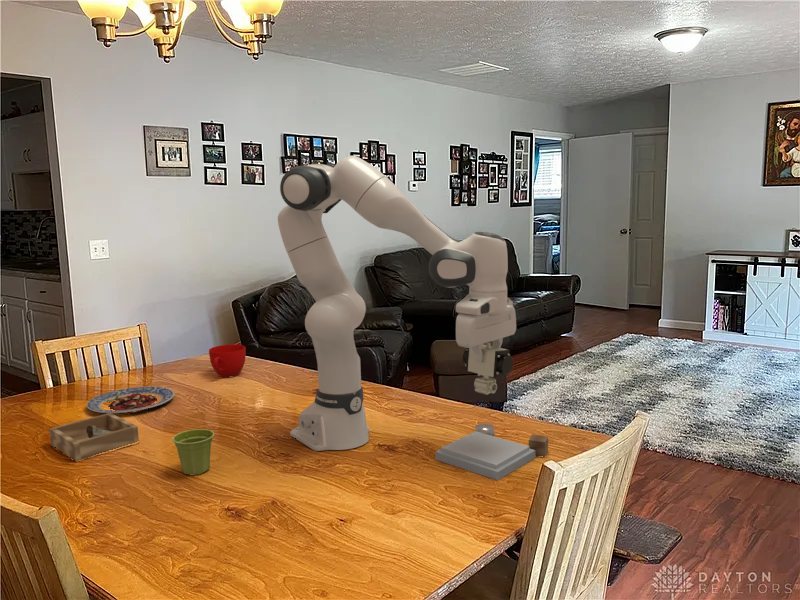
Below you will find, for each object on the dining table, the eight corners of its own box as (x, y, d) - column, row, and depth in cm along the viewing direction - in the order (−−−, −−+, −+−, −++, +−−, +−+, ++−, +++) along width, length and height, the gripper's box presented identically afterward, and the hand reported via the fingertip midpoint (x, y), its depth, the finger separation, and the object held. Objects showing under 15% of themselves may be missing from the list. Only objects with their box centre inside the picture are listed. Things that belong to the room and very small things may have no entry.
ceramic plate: (191, 399, 208) (191, 390, 208) (120, 424, 187) (119, 414, 186) (141, 388, 222) (141, 380, 221) (70, 410, 200) (69, 401, 200)
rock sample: (131, 426, 170) (101, 409, 167) (114, 452, 165) (83, 434, 163) (121, 433, 178) (93, 416, 175) (105, 457, 173) (75, 441, 171)
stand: (435, 459, 156) (435, 447, 155) (474, 440, 167) (474, 429, 167) (497, 480, 143) (497, 467, 143) (535, 458, 155) (535, 446, 155)
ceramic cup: (199, 382, 226) (197, 355, 225) (220, 369, 243) (218, 344, 241) (233, 383, 224) (232, 355, 223) (252, 370, 241) (251, 344, 239)
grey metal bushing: (471, 436, 170) (471, 427, 170) (482, 431, 174) (482, 422, 174) (487, 441, 167) (487, 431, 167) (498, 435, 171) (498, 426, 170)
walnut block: (528, 455, 157) (528, 440, 156) (531, 449, 160) (531, 434, 160) (544, 457, 155) (545, 442, 155) (547, 451, 159) (548, 436, 158)
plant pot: (173, 466, 155) (171, 432, 154) (214, 459, 159) (211, 426, 158) (177, 482, 147) (173, 445, 146) (219, 474, 151) (216, 438, 149)
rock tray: (51, 445, 171) (49, 428, 170) (111, 429, 182) (109, 412, 181) (76, 462, 159) (74, 444, 158) (139, 443, 171) (137, 426, 170)
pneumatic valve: (498, 399, 147) (502, 347, 146) (459, 388, 155) (463, 339, 154) (513, 396, 151) (517, 345, 149) (474, 385, 159) (477, 338, 158)
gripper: (501, 295, 160) (500, 349, 162) (451, 306, 145) (450, 365, 147) (523, 297, 156) (521, 353, 158) (473, 309, 141) (473, 370, 143)
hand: (487, 359), depth 153 cm, fingers closed on pneumatic valve, 5 cm apart
